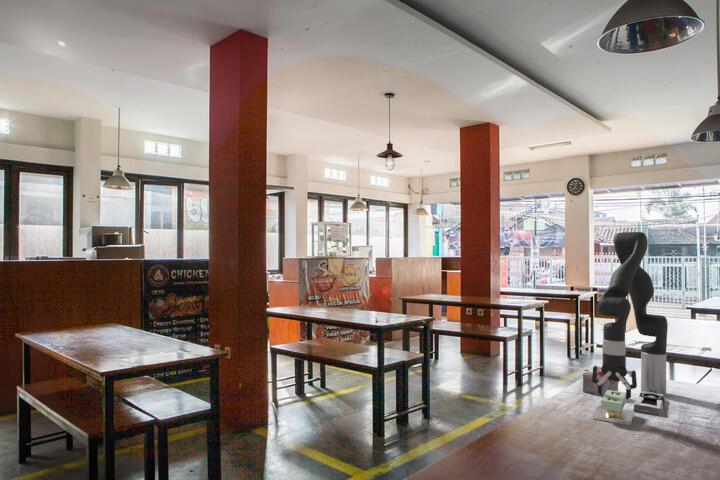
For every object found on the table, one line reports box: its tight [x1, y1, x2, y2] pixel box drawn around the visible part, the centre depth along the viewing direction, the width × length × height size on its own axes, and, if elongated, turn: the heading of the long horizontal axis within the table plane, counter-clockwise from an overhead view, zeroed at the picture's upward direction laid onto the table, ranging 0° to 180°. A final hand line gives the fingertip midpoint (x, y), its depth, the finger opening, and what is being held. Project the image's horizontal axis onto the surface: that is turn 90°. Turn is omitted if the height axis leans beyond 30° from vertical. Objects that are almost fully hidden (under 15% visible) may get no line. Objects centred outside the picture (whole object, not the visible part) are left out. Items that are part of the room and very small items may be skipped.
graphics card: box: [633, 391, 666, 418], centre depth 192 cm, size 10×3×25 cm
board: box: [600, 390, 627, 412], centre depth 179 cm, size 16×6×3 cm, turn 146°
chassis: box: [592, 393, 636, 426], centre depth 178 cm, size 13×12×8 cm
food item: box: [582, 370, 620, 397], centre depth 207 cm, size 14×8×10 cm, turn 42°
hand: (614, 397), depth 179 cm, fingers open, 8 cm apart
